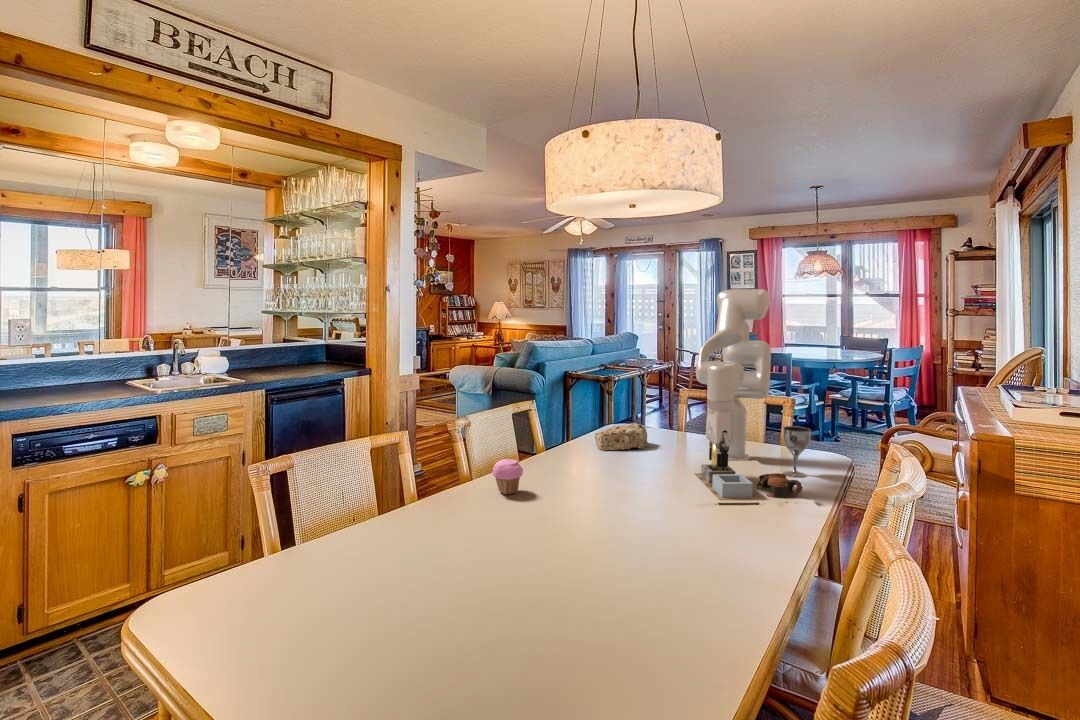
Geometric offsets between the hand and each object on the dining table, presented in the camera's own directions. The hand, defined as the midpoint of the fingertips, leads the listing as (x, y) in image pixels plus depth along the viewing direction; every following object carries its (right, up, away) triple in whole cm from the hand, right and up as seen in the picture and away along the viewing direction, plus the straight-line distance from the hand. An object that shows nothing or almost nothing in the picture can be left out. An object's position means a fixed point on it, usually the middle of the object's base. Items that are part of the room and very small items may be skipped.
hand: (718, 462), depth 170 cm
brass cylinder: (0, -5, +1) cm, 5 cm away
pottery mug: (+13, -8, -12) cm, 20 cm away
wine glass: (+28, -6, +10) cm, 30 cm away
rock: (-23, -3, +47) cm, 52 cm away
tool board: (0, -7, -5) cm, 9 cm away
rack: (0, -6, -11) cm, 13 cm away
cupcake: (-64, -8, -6) cm, 65 cm away
